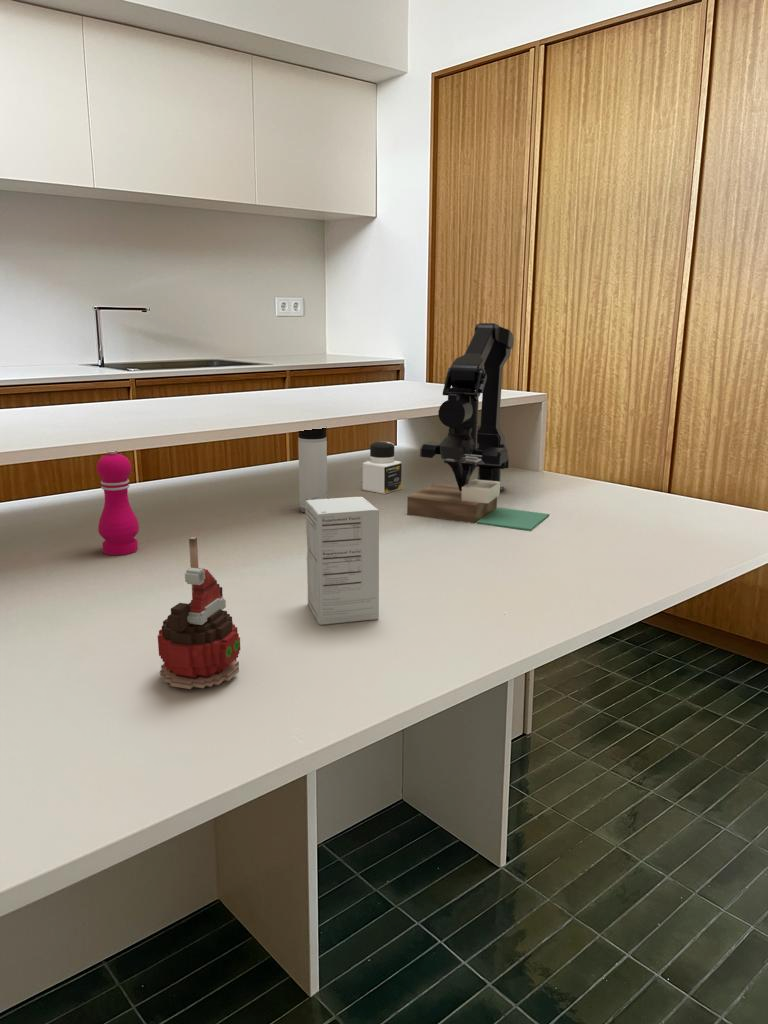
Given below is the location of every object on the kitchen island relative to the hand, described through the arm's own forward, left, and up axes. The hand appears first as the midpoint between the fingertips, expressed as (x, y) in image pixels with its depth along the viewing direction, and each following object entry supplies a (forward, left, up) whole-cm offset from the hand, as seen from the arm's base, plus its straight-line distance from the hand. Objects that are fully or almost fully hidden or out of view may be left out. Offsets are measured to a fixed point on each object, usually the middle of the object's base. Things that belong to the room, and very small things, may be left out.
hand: (462, 490), depth 177 cm
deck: (0, -2, -5) cm, 6 cm away
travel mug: (+14, -30, -5) cm, 34 cm away
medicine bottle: (-12, -26, -5) cm, 29 cm away
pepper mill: (+57, -46, -5) cm, 73 cm away
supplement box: (+64, +6, -5) cm, 64 cm away
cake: (+91, +1, -5) cm, 91 cm away
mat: (0, +12, -5) cm, 13 cm away
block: (0, +4, -1) cm, 5 cm away
